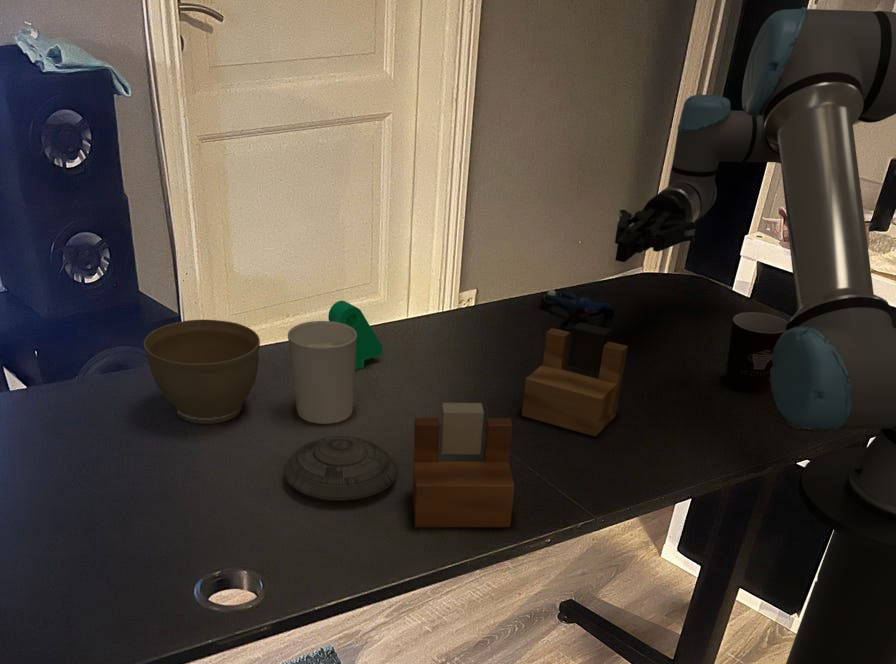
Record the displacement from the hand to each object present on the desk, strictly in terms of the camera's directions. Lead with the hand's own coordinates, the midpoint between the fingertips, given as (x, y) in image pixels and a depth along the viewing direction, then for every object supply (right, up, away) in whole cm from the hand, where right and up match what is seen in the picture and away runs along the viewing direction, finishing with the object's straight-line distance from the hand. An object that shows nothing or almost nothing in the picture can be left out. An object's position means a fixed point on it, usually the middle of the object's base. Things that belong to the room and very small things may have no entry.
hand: (621, 252), depth 144 cm
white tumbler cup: (-44, -24, +1) cm, 50 cm away
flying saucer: (-41, -36, -14) cm, 56 cm away
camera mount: (-43, -12, +15) cm, 47 cm away
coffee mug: (+24, -17, +13) cm, 32 cm away
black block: (-5, -17, +1) cm, 17 cm away
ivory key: (-25, -33, -20) cm, 46 cm away
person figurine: (-1, 0, +32) cm, 32 cm away
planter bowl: (-61, -24, 0) cm, 66 cm away
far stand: (-7, -24, +2) cm, 25 cm away
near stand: (-25, -41, -19) cm, 52 cm away
